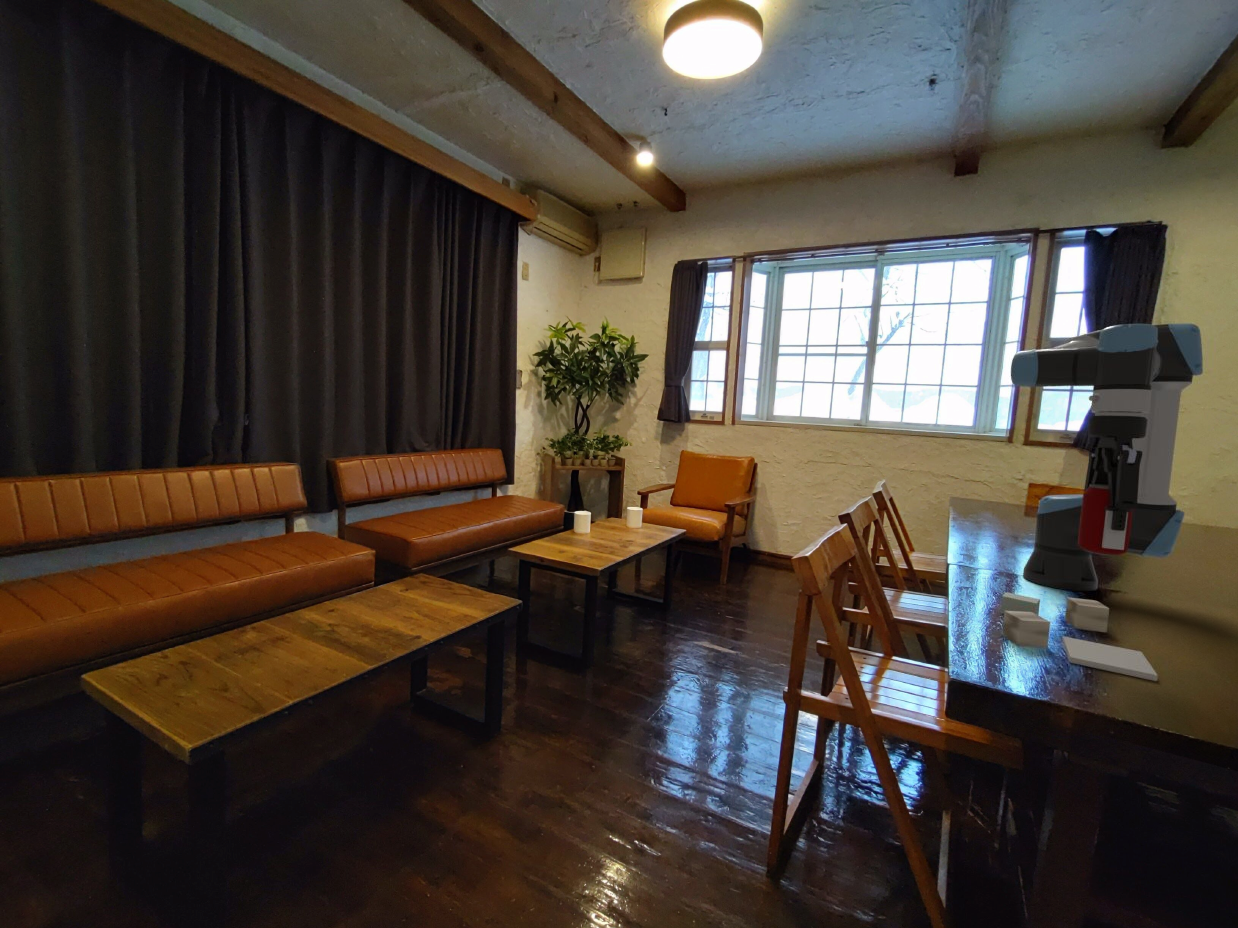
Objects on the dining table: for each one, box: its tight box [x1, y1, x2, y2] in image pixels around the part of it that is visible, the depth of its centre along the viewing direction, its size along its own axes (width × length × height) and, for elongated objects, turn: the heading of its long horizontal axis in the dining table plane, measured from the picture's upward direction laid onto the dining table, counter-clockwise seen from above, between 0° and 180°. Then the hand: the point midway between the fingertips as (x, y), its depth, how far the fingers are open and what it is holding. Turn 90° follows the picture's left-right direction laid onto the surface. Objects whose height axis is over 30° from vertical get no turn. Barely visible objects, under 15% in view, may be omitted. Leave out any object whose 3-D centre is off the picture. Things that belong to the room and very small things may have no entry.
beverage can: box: [1078, 484, 1133, 557], centre depth 96 cm, size 7×7×12 cm
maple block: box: [1002, 611, 1051, 649], centre depth 102 cm, size 5×5×5 cm
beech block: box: [1064, 596, 1110, 633], centre depth 111 cm, size 5×5×5 cm
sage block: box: [1000, 591, 1041, 616], centre depth 117 cm, size 4×6×4 cm, turn 44°
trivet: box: [1061, 635, 1159, 682], centre depth 95 cm, size 11×11×1 cm
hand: (1102, 543), depth 97 cm, fingers closed on beverage can, 7 cm apart
